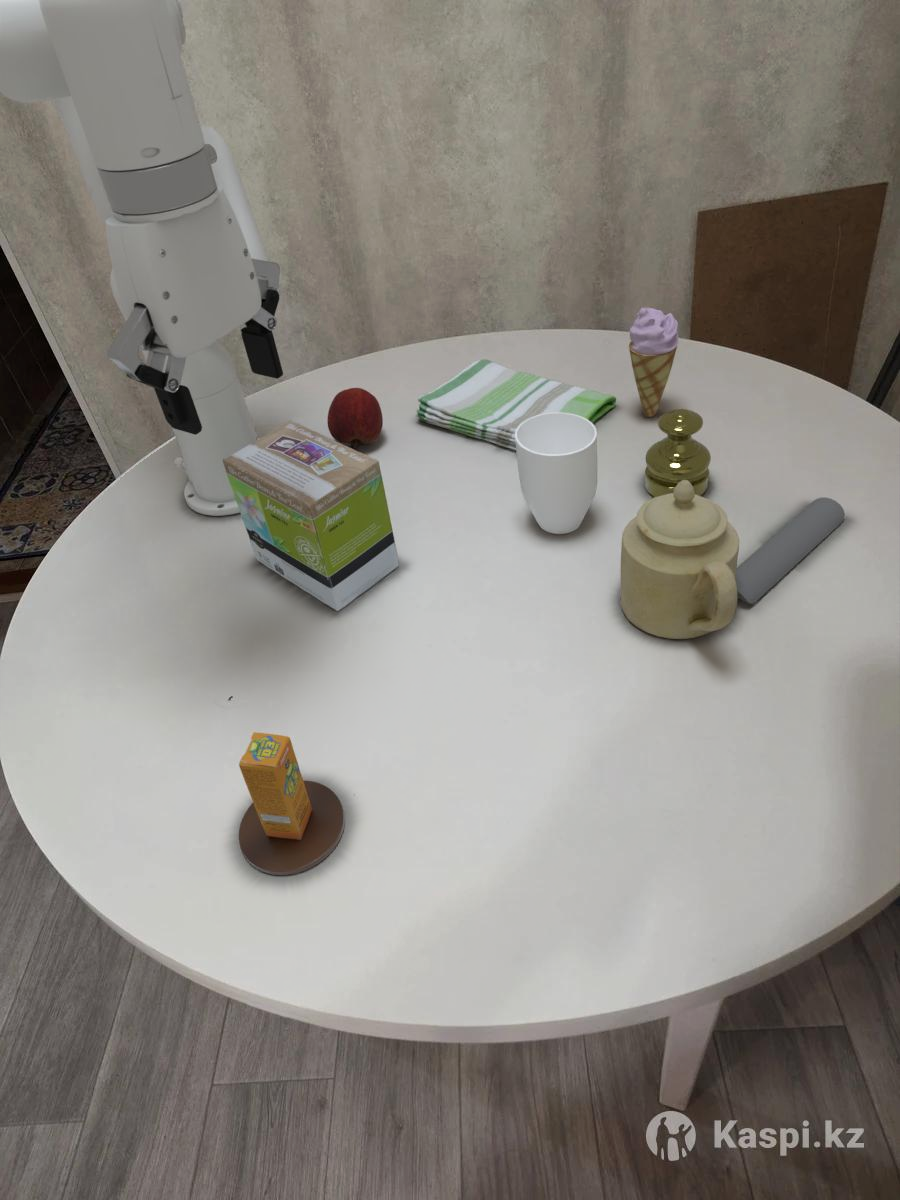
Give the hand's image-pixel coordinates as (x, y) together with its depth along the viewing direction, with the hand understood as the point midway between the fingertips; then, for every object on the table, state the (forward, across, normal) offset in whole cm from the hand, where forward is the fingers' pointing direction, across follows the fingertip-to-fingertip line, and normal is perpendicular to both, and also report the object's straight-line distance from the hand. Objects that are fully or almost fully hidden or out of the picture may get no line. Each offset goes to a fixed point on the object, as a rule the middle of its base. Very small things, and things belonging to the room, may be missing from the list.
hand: (229, 401), depth 72 cm
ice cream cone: (+28, -56, +14) cm, 64 cm away
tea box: (+28, -11, -6) cm, 31 cm away
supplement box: (+28, +18, +14) cm, 36 cm away
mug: (+28, -31, +14) cm, 44 cm away
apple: (+28, -34, -19) cm, 48 cm away
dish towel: (+28, -49, -3) cm, 57 cm away
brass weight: (+28, -42, +24) cm, 56 cm away
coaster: (+28, +18, +14) cm, 36 cm away
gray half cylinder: (+28, -34, +38) cm, 59 cm away
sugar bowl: (+28, -22, +33) cm, 49 cm away
